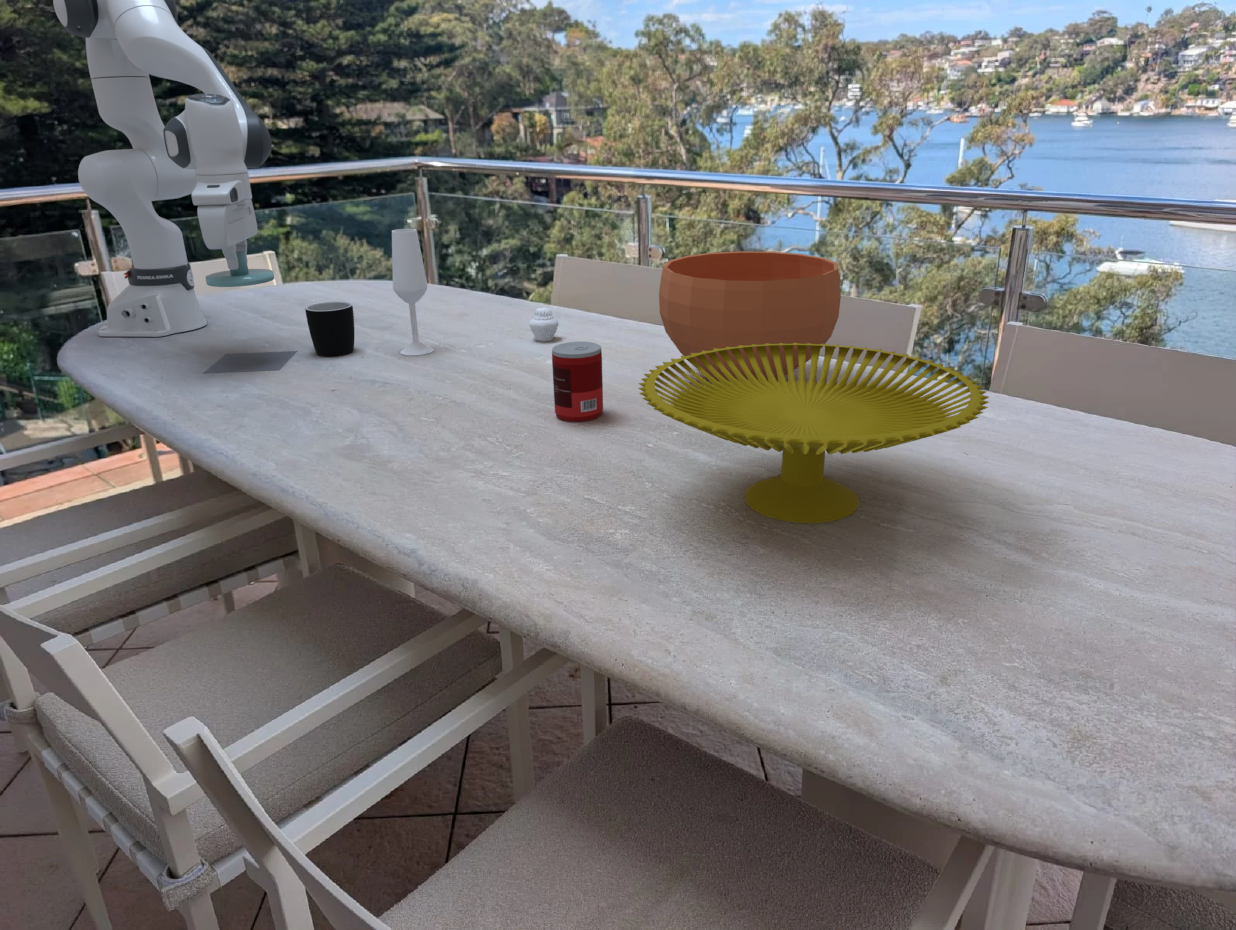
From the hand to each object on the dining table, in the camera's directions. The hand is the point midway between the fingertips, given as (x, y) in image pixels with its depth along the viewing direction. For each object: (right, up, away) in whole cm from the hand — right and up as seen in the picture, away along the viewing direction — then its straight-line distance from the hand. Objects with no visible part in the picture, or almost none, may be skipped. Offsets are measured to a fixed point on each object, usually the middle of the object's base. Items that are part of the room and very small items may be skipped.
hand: (238, 266), depth 171 cm
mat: (0, -18, +7) cm, 19 cm away
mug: (+13, -15, +14) cm, 24 cm away
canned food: (+65, -29, -25) cm, 75 cm away
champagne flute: (+30, -14, +15) cm, 37 cm away
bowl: (+94, -23, -11) cm, 97 cm away
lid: (0, -2, +1) cm, 3 cm away
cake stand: (+94, -42, -57) cm, 118 cm away
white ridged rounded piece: (+56, -11, +21) cm, 61 cm away
